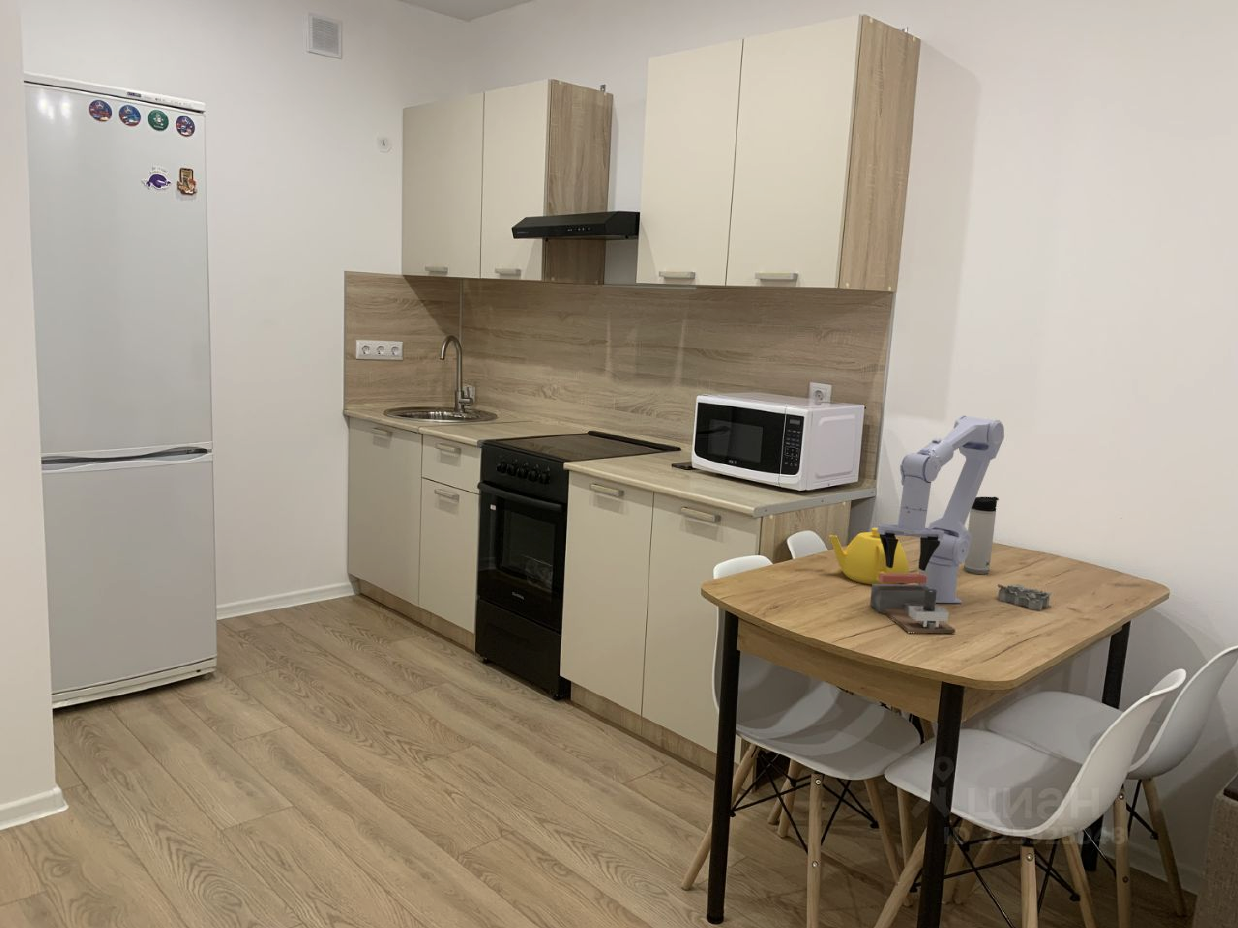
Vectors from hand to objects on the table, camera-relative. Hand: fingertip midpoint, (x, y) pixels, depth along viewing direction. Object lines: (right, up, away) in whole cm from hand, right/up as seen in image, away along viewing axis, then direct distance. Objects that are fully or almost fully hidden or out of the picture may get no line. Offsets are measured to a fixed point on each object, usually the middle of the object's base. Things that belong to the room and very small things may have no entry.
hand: (905, 568), depth 209 cm
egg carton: (+31, -10, +12) cm, 35 cm away
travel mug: (+31, -5, +39) cm, 50 cm away
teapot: (-2, -6, +26) cm, 27 cm away
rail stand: (0, -11, -5) cm, 12 cm away
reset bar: (0, -3, +1) cm, 3 cm away
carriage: (+1, -10, -12) cm, 16 cm away
